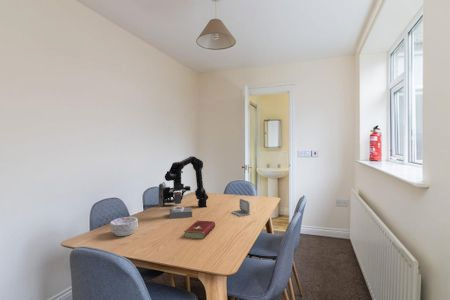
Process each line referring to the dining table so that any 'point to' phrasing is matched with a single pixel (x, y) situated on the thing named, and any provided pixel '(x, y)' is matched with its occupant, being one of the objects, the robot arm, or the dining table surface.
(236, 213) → the handheld gaming console
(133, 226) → the speckled grey bowl
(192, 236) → the hardcover book
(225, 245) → the dining table surface
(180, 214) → the octagon ring plate
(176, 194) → the lens
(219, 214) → the dining table surface
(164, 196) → the vintage camera
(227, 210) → the dining table surface
